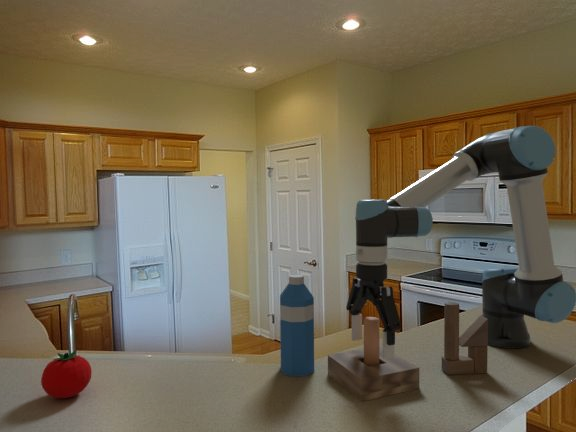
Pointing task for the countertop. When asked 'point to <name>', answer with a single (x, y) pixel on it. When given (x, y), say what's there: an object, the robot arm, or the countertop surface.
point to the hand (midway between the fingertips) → (371, 348)
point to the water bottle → (297, 328)
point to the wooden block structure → (464, 343)
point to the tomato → (66, 375)
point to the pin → (371, 341)
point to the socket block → (372, 374)
